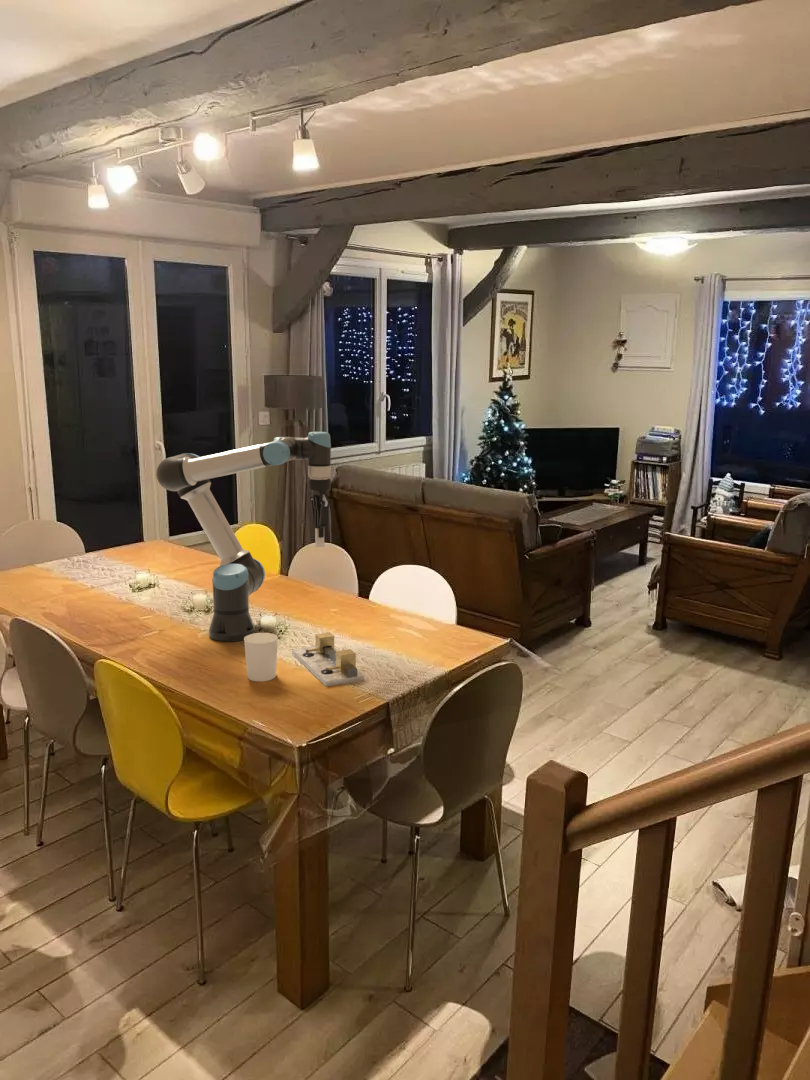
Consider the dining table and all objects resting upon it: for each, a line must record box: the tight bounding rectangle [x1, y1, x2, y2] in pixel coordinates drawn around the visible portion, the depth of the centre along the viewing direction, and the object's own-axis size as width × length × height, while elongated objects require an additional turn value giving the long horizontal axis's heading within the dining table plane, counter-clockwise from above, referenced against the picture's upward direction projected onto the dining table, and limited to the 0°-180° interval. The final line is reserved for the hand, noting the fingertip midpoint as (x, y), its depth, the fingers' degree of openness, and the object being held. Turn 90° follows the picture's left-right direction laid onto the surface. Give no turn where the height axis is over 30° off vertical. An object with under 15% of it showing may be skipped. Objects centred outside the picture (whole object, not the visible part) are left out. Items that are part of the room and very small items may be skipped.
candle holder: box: [243, 632, 279, 683], centre depth 242 cm, size 10×10×12 cm
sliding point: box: [305, 631, 335, 653], centre depth 260 cm, size 9×4×5 cm, turn 117°
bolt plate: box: [291, 645, 365, 687], centre depth 251 cm, size 12×30×7 cm, turn 26°
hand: (319, 546), depth 282 cm, fingers closed
